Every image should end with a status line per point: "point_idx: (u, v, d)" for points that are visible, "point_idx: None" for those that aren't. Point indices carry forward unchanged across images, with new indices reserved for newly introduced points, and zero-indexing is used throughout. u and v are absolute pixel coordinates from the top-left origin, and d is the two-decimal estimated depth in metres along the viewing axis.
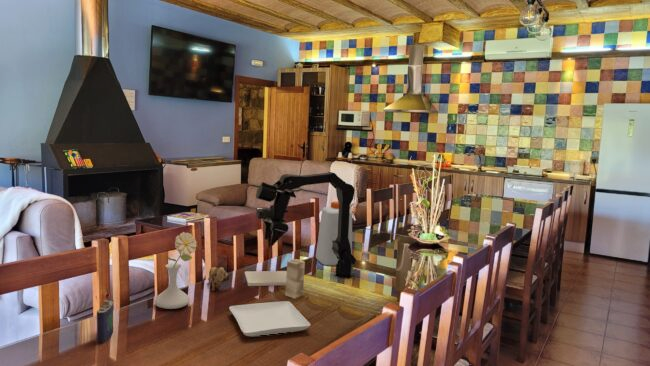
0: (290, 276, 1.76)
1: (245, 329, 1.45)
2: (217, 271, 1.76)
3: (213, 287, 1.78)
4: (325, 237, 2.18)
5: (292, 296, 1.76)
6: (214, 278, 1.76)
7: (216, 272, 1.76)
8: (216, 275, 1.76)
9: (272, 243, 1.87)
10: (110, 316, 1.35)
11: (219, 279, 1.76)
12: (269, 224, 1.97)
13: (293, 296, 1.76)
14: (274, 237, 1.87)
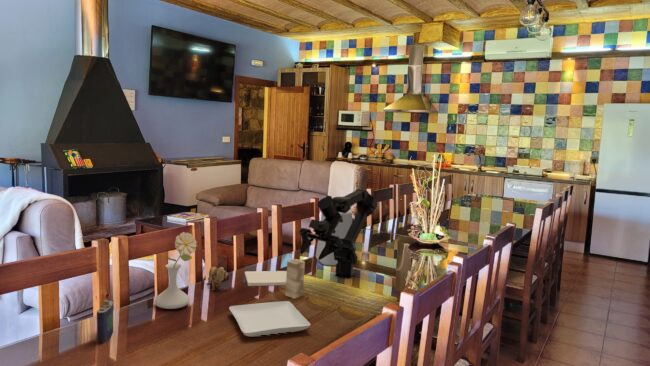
0: (290, 276, 1.76)
1: (245, 329, 1.45)
2: (217, 271, 1.76)
3: (213, 287, 1.79)
4: None
5: (292, 296, 1.76)
6: (214, 278, 1.76)
7: (216, 272, 1.76)
8: (216, 275, 1.76)
9: (321, 257, 1.81)
10: (110, 316, 1.35)
11: (219, 279, 1.76)
12: (307, 240, 1.89)
13: (293, 296, 1.76)
14: (325, 252, 1.81)
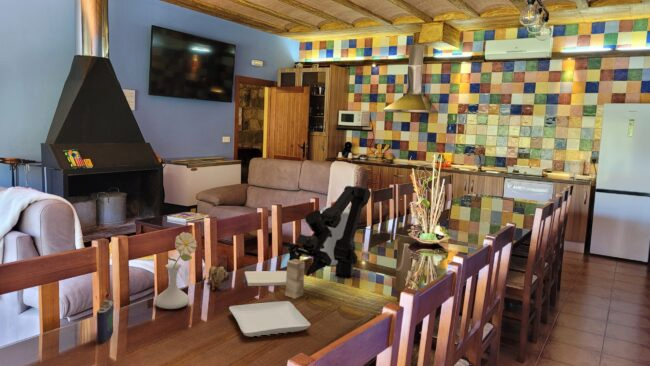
0: (290, 276, 1.76)
1: (245, 329, 1.45)
2: (217, 270, 1.76)
3: (213, 286, 1.79)
4: None
5: (292, 296, 1.76)
6: (214, 277, 1.77)
7: (216, 271, 1.77)
8: (216, 274, 1.76)
9: (308, 273, 1.76)
10: (110, 316, 1.35)
11: (219, 278, 1.77)
12: (295, 255, 1.84)
13: (293, 296, 1.76)
14: (313, 268, 1.76)
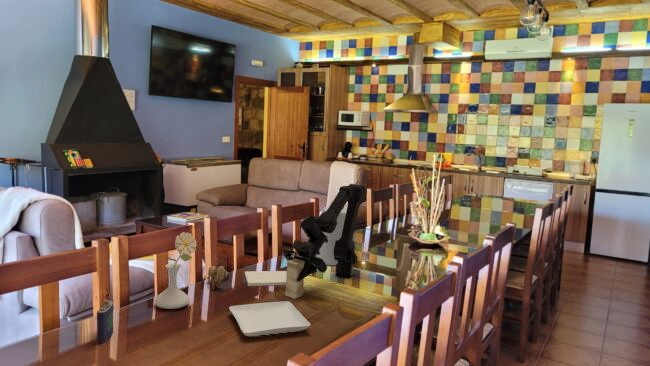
0: (290, 276, 1.76)
1: (245, 329, 1.45)
2: (217, 270, 1.77)
3: (213, 286, 1.80)
4: None
5: (292, 296, 1.76)
6: (214, 277, 1.78)
7: (216, 271, 1.77)
8: (216, 274, 1.77)
9: (299, 279, 1.75)
10: (110, 316, 1.35)
11: (219, 278, 1.77)
12: None
13: (293, 296, 1.76)
14: (304, 273, 1.76)
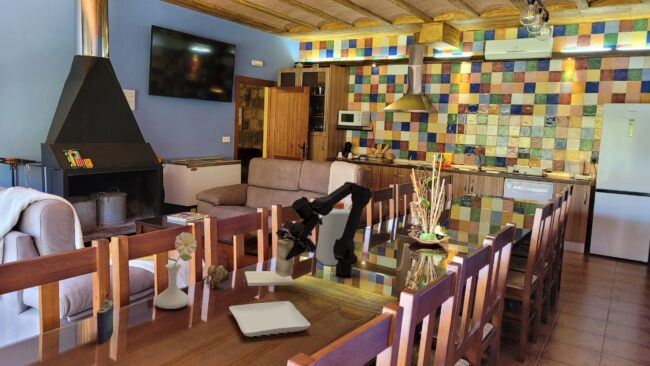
0: (279, 255, 1.80)
1: (245, 329, 1.45)
2: (217, 269, 1.78)
3: (212, 285, 1.81)
4: (325, 237, 2.18)
5: (281, 275, 1.79)
6: (214, 276, 1.78)
7: (216, 270, 1.78)
8: (216, 273, 1.78)
9: (288, 258, 1.78)
10: (110, 316, 1.35)
11: (219, 277, 1.78)
12: None
13: (282, 275, 1.79)
14: (293, 252, 1.79)
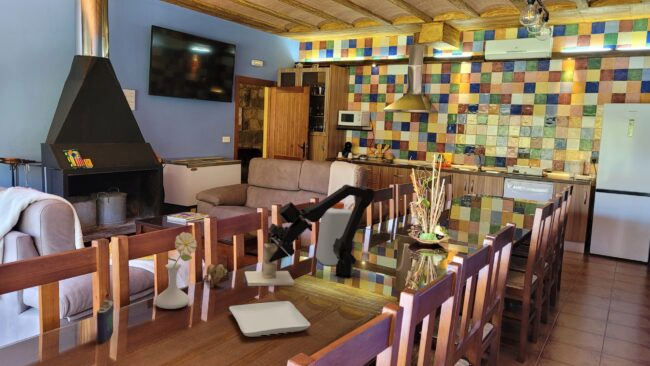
0: (264, 258, 1.93)
1: (245, 329, 1.45)
2: (216, 268, 1.79)
3: (212, 284, 1.82)
4: (325, 237, 2.18)
5: (264, 276, 1.92)
6: (213, 275, 1.79)
7: (215, 269, 1.79)
8: (216, 272, 1.79)
9: (271, 260, 1.88)
10: (110, 316, 1.35)
11: (219, 276, 1.79)
12: (274, 243, 1.98)
13: (264, 276, 1.92)
14: (276, 255, 1.88)
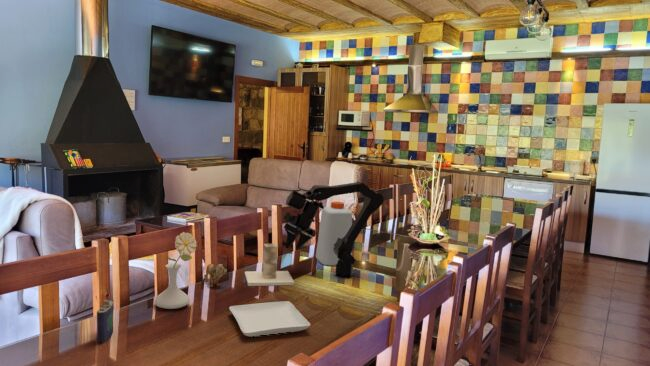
0: (264, 258, 1.93)
1: (245, 329, 1.45)
2: (216, 267, 1.80)
3: (212, 283, 1.82)
4: (325, 237, 2.18)
5: (264, 276, 1.92)
6: (213, 274, 1.80)
7: (215, 269, 1.80)
8: (215, 271, 1.80)
9: (287, 246, 1.94)
10: (110, 316, 1.35)
11: (218, 275, 1.80)
12: (303, 235, 2.03)
13: (264, 276, 1.92)
14: (288, 239, 1.93)
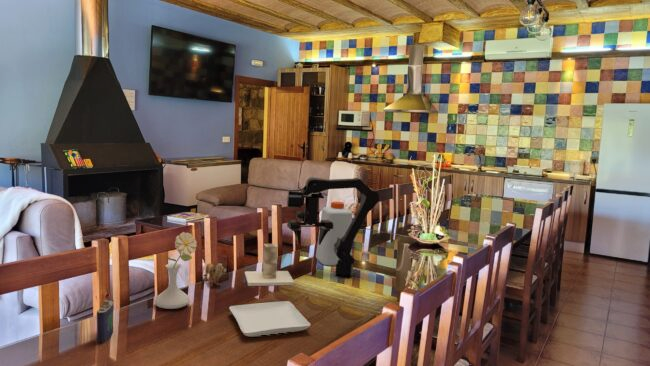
0: (264, 258, 1.93)
1: (245, 329, 1.45)
2: (216, 267, 1.80)
3: (211, 283, 1.83)
4: (325, 237, 2.18)
5: (264, 276, 1.92)
6: (213, 274, 1.81)
7: (215, 268, 1.80)
8: (215, 271, 1.80)
9: (297, 242, 2.00)
10: (110, 316, 1.35)
11: (218, 275, 1.80)
12: (321, 229, 2.03)
13: (264, 276, 1.92)
14: (296, 236, 2.00)
